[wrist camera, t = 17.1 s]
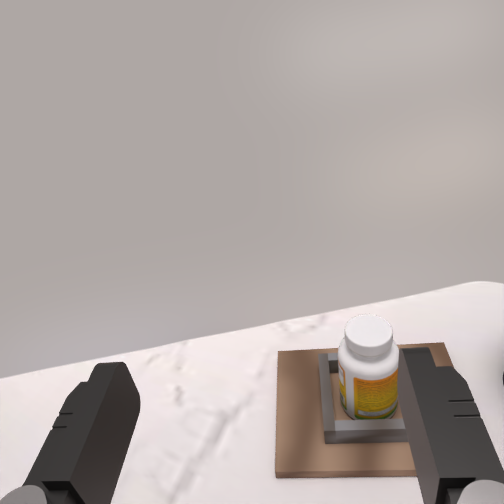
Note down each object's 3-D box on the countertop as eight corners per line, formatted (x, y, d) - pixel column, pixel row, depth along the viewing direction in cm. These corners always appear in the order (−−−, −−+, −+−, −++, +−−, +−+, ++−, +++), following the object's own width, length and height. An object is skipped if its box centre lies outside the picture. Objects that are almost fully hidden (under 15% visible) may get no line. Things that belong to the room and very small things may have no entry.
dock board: (276, 478, 39) (272, 459, 37) (279, 357, 50) (275, 338, 48) (492, 475, 36) (498, 454, 34) (442, 348, 48) (445, 329, 46)
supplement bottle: (409, 401, 42) (415, 327, 36) (373, 437, 39) (374, 364, 34) (364, 370, 46) (363, 299, 40) (328, 401, 43) (323, 330, 38)
